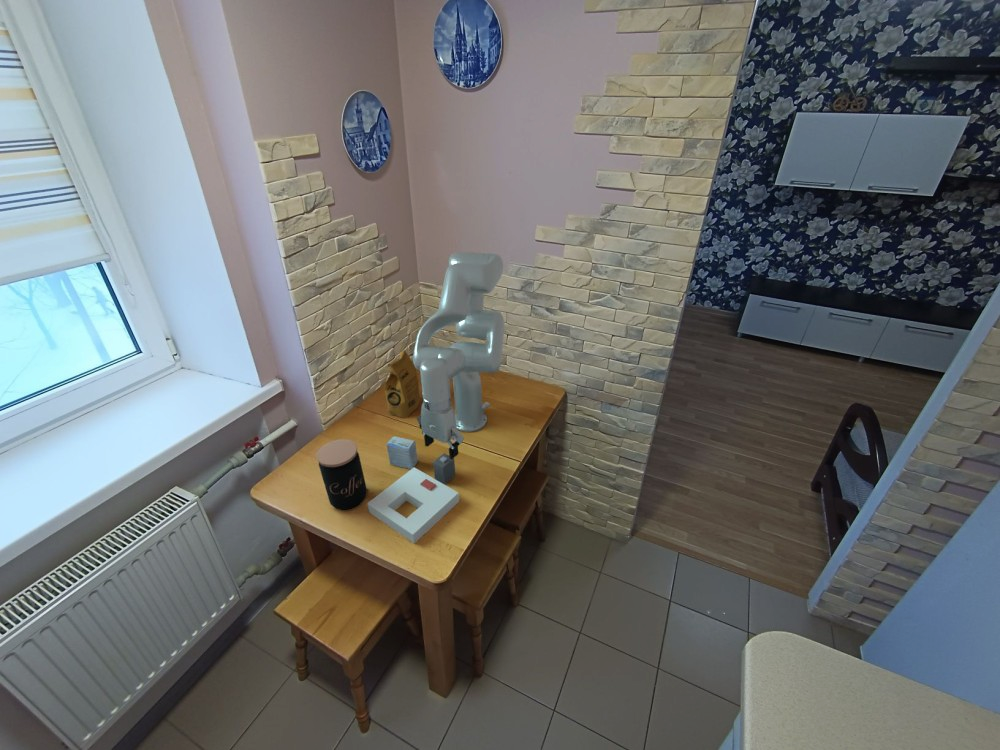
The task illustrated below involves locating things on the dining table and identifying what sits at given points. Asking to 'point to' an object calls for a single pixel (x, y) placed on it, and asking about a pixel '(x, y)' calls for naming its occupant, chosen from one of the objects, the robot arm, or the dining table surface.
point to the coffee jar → (342, 474)
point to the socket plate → (414, 503)
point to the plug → (444, 468)
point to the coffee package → (402, 387)
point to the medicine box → (402, 452)
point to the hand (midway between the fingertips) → (441, 450)
